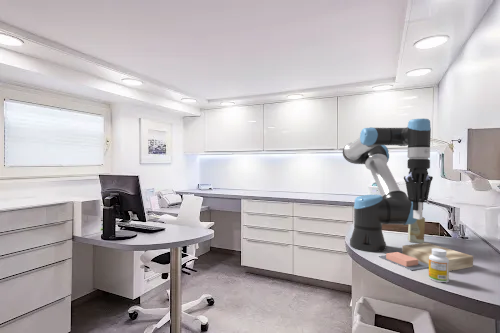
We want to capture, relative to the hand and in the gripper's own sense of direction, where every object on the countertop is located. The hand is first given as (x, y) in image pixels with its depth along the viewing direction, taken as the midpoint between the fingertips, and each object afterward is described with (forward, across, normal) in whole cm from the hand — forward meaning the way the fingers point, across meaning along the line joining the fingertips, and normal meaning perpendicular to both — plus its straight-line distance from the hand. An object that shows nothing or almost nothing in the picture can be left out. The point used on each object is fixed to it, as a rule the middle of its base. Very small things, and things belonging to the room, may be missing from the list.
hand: (417, 218), depth 107 cm
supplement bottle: (+17, -10, -16) cm, 25 cm away
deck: (+16, +6, -3) cm, 18 cm away
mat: (+16, -6, 0) cm, 18 cm away
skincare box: (+17, +23, +19) cm, 34 cm away
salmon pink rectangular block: (+14, -8, 0) cm, 16 cm away
